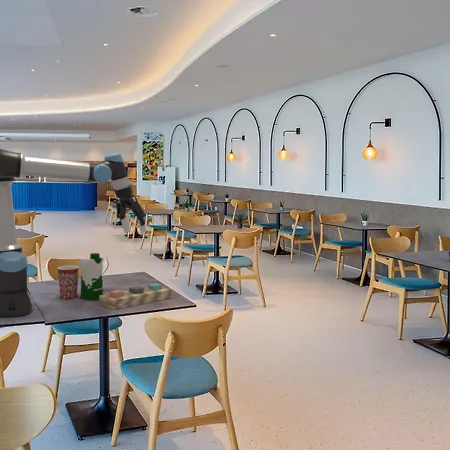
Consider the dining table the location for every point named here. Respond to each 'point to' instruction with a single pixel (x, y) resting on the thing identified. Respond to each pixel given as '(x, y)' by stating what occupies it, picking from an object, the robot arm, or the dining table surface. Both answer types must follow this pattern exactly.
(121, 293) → the terracotta button
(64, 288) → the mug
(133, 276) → the dining table surface
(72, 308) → the dining table surface
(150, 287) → the teal button
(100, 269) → the milk carton
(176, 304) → the dining table surface
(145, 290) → the oak button console
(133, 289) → the charcoal button
